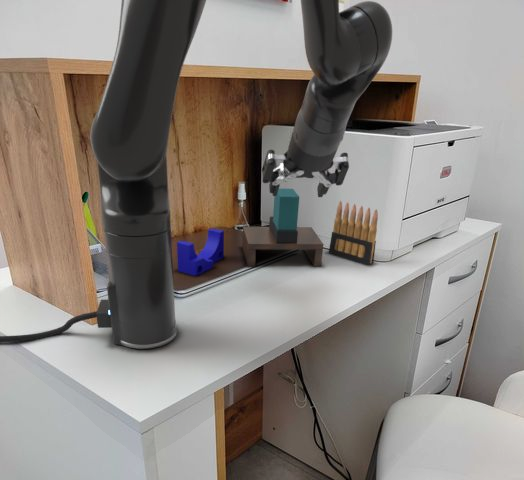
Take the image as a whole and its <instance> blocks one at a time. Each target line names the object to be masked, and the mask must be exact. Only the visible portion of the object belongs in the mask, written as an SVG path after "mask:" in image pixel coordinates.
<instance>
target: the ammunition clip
mask: <svg viewBox="0 0 524 480" xmlns="http://www.w3.org/2000/svg"><path fill="white" fill-rule="evenodd" d="M349 204H350V203H349V202H346V204H345V206H344V209H343V203H342V200H340V201H339V202H338V205H337V207H336V214H335V218H334V221H333V229H332V231H331V236H330V242H329V247H328V248H329V249H328V254H330V255H332V256H336V257H339V258H343V259H346V260H349V261H353V262H356V263H359V264H363V265H366V266H370V265H372V264H374V259H375V251H376V244H377V243H376V242H377V241H376V239H377V238H376V237H377V232H378V219H379V218H378V217H379V216H378V214H379V213H378V212H379V211H378V209H377V208H376V209H375V210H374V211H373V214H372V216H371V208H370V207H367V210H366V212H365V215H364V207H363V205H360V207H359V209H358V213H357V205H356V204H355V203H354V204H353V206H352V208H351V211H350V205H349Z"/></svg>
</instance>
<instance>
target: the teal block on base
mask: <svg viewBox="0 0 524 480" xmlns="http://www.w3.org/2000/svg"><path fill="white" fill-rule="evenodd" d="M299 205H300V196H299V194H298V193H297V192H296V190H295V189H294V188H279V190H278V193H277V196H273V211H272V214H273V215H272V216H269V224H268V227H269V228H270V230H271V232H272V234H273V236H274V239H275V241H276V243H297V237H298V231H297V227H298V219H299Z"/></svg>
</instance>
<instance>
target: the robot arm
mask: <svg viewBox="0 0 524 480" xmlns="http://www.w3.org/2000/svg"><path fill="white" fill-rule="evenodd" d="M206 2H207V0H121V6H120V16H119V27H118V34H117V35H118V36H117V41H116V48H115V52H114V56H113V61H112V64H111V68H110V71H109V75H108V77H107V81H106V84H105V88H104V90H103V94H102V97H101V100H100V103H99V106H98V108H97V111H96V114H95V116H94V118H93V119H92V123H91V127H90V132H89V139H90V145H91V146H90V147H91V150H92V153H93V155H94V158H95V160H96V164H97V174H98V182H99V195H100V216H101V225H102V231H103V233H102V234H103V240H104V247H105V249H104V250H105V256H106V257H105V258H106V265H107V275H108V282H107V285H106V292H107V299H100V301H99V304H98V307H97V310H96V311H95V310H94V311H91V312H86V313H82V314H79V315H76V316H73V317H72V318H70V319H68V320H67V321H66V322H65V323H64V324H63V325H62V326H60V327H57V328H54V329H51V330H48V331H43V332H42V331H41V332H38V333H31V334H30V333H29V334H17V335H0V343H12V342H13V343H15V342H26V341H27V342H28V341H36V340H40V339H44V338H49V337H53V336H57V335H60V334H63V333H64V332H67V331H68V330H69V329H70V328H71V327H73V326H74V325H75V324H76V323H79V322H82V321H87V320H90V319H96V323H97V328H98V329H109V328H110V329H111V333H112V341H113V345H121V346H124V347H127V348H130V349H139V350H147V349H154V348H158V347H162V346H165V345H167V344H169V343H171V342H173V340H174V339H175V338H176V336H177V325H176V324H177V323H176V322H177V321H176V306H175V303H176V302H175V287H174V286H175V284H174V265H173V246H172V245H173V244H172V224H171V205H170V203H171V202H170V192H169V178H168V177H169V176H168V158H167V153H168V147H169V137H170V131H171V124H172V117H173V110H174V107H175V106H174V105H175V101H176V96H177V90H178V85H179V81H180V77H181V74H182V73H181V72H182V70H183V66H184V64H185V61H186V58H187V56H188V52H189V50H190V47H191V45H192V42H193V39H194V38H195V35H196V32H197V29H198V26H199V25H200V24H199V23H200V21H201V17H202V15H203V12H204V9H205V5H206ZM300 8H301V9H300V10H301V16H302V27H303V41H304V50H305V56H306V59H307V62H308V66H309V68H310V69H311V70H310V71H312V73H313V75H312V76H311V78H310V80H309V82H308V84H307V87H306V90H305V94H304V97H303V101H302V103H301V107H300V109H299V111H298V113H297V116H296V119H295V123H294V126H293V129H292V133H291V137H290V140H289V143H288V148H287V150H286V152H285V153H283V154H277V153H276V152H275V150H274V149H268V150H267V152H266V155H265V158H264V161H263V165H262V167H261V173H262V174H261V175H262V178H261V180H262V183H263V184H268V183H269V186H268V188H269V193H270V194H272V196H273V197H274V196H277V193H278V190H279V189H280V186H281V185H280V184H282V183H284V182H285V183H288V182H290V181H292V180H294V179H295V178H296V179H301V178H307V179H314V178H316V180H317V181H318V185H317V188H316V189H317V190H316V191H317V198H323V196H325V195H327V194H328V191H329V190H330V188H331V187H332V185H336V186H339V187H340V186H342V185H343V184H344V181H345V179H346V175H347V173H348V171H349V169H350V163H349V154H348V153H347V152H342V153H340V155H339V156H336V155H337V152H338V150H339V147H340V145H341V142H342V141H343V139H344V135H345V132H346V128H347V125H348V121H349V119H350V117H351V114H352V112H353V110H354V107H355V105H356V103H357V101H358V100H359V99H360V97H361V96H362V94H364V92H365V91H366V90H367V88H368V87H369V85H370V84H371V82H372V81H373V80H374V79H375V77H376V76H377V74H378V73H379V72H380V70H381V68H382V67H383V65H384V64H385V62H386V60H387V57H388V56H389V53H390V50H391V46H392V43H393V23H392V21H391V17H390V14H389V12H388V11H387V9H386V8H385V7H384V6H383V5H381V4H380V3H379V2H377V1H372V0H365V1H361V2H358V3H356V4H354V5H352V6H350V7H348V8H346V9H343V10H341V11H340V0H300ZM333 166H334V167H335V169H334V172H331V171H330V169H331V168H333Z"/></svg>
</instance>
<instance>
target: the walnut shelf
mask: <svg viewBox="0 0 524 480" xmlns="http://www.w3.org/2000/svg"><path fill="white" fill-rule="evenodd" d="M297 231H298V237H297V243H276V241H275V239H274V236H273V234H272V232H271V230H270V228H269V226H243V227H242V245H241V246H242V252H243V255H244V259H245V263H246V265H247V267H248V268H249V267H256V256H257V254H256V252H257V250H304V252H305V254H306V256H307V257H308V259H309V261H310V262H311V264H312V265H313V267H322V261H323V254H324V243H323V241H322V240H321V239H320V238H321V237H319V235H318V234H317V233H316V231H315V230H314V228H313V227H312V226H297Z"/></svg>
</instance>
